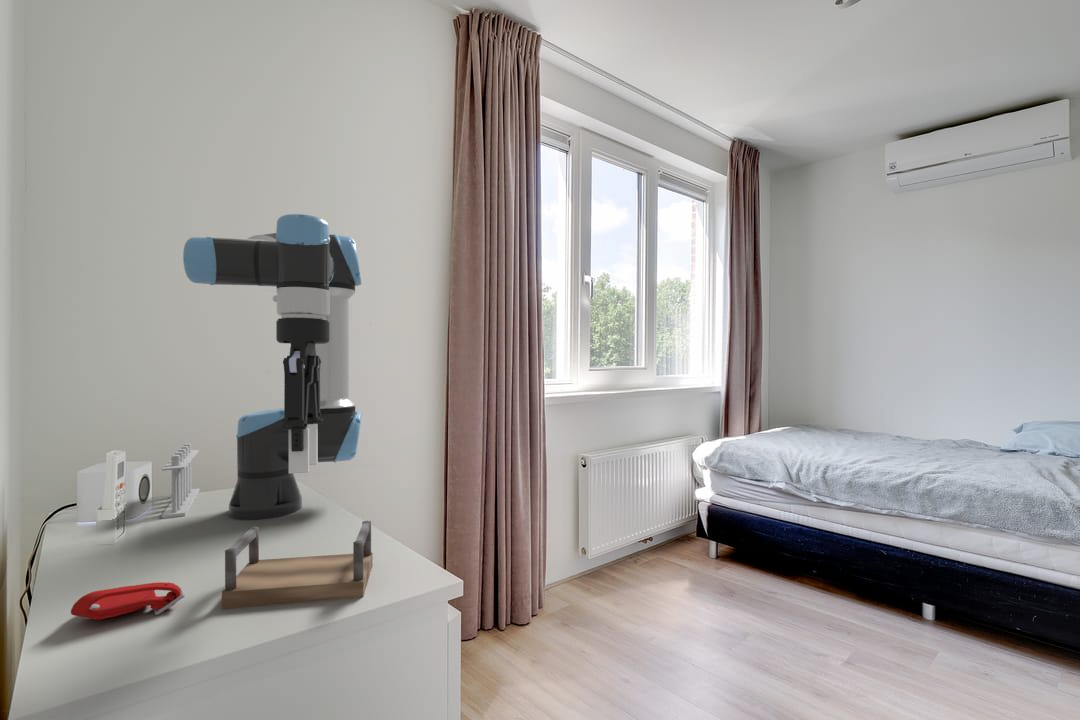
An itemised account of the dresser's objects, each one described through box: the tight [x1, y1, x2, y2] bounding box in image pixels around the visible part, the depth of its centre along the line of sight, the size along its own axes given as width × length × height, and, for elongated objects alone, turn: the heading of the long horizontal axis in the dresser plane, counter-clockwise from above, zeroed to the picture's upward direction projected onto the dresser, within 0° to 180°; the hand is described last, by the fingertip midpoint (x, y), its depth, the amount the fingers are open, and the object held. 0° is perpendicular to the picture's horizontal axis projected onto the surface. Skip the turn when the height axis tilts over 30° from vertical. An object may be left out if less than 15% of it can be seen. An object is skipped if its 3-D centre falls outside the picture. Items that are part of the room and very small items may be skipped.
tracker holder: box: [70, 581, 186, 621], centre depth 75 cm, size 12×4×10 cm
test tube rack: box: [161, 443, 200, 520], centre depth 131 cm, size 25×4×13 cm, turn 26°
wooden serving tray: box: [221, 520, 373, 610], centre depth 84 cm, size 12×19×8 cm, turn 101°
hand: (303, 468), depth 84 cm, fingers open, 5 cm apart
